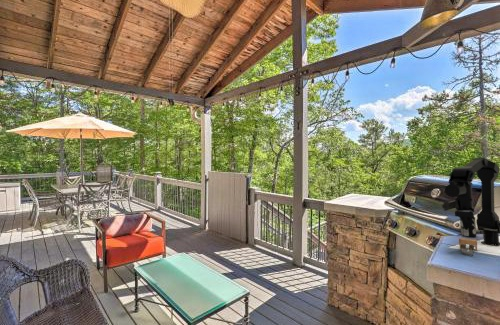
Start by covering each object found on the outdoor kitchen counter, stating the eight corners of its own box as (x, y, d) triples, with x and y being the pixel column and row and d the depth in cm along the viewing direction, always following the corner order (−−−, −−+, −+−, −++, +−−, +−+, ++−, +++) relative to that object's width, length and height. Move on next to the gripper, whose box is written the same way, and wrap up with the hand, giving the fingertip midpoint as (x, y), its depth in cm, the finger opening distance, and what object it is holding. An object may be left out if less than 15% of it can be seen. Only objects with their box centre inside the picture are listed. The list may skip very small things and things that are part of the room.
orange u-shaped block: (477, 250, 122) (476, 241, 122) (459, 248, 126) (458, 239, 126) (477, 249, 124) (476, 239, 124) (459, 246, 128) (459, 237, 128)
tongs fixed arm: (473, 256, 115) (473, 251, 115) (461, 254, 118) (461, 249, 118) (474, 245, 130) (474, 241, 130) (463, 244, 133) (463, 239, 133)
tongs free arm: (466, 252, 120) (466, 248, 120) (461, 251, 121) (460, 247, 121) (465, 244, 132) (465, 240, 132) (460, 243, 133) (460, 240, 133)
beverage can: (475, 235, 147) (473, 213, 148) (477, 238, 142) (476, 215, 142) (460, 234, 151) (458, 213, 151) (461, 237, 145) (460, 215, 146)
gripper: (444, 193, 133) (446, 224, 133) (439, 196, 119) (442, 231, 119) (473, 193, 126) (475, 226, 126) (472, 197, 112) (474, 234, 112)
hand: (466, 229), depth 121 cm, fingers closed
